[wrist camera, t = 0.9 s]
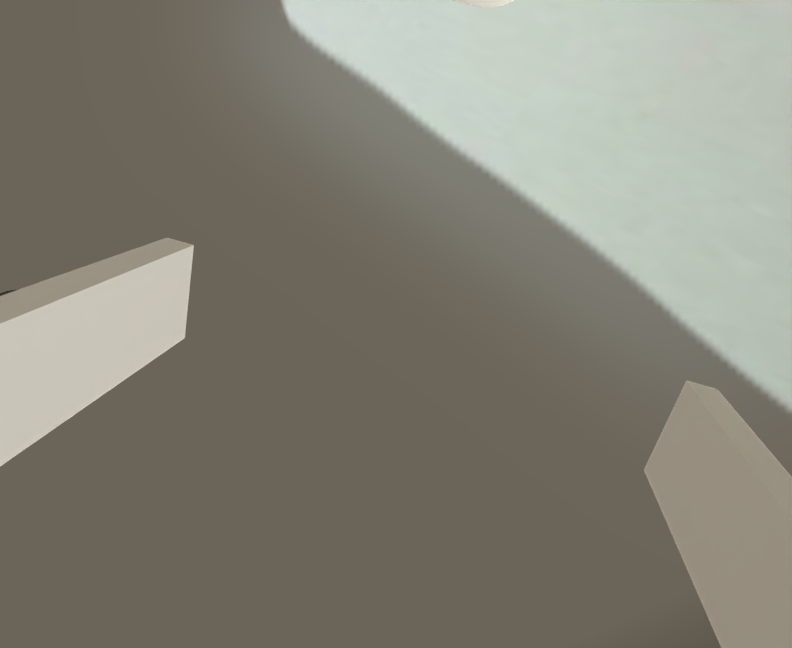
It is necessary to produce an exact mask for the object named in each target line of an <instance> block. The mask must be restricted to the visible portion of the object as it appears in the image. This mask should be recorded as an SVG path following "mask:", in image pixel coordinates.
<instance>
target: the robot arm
mask: <svg viewBox="0 0 792 648" xmlns="http://www.w3.org/2000/svg"><path fill="white" fill-rule="evenodd" d="M193 247H194V245H191V244H188V243H184V242H180V241H177V240H173V239H170V238H165V239H162V240H159V241H156V242H153V243H150V244H148V245H145V246H142V247H139V248H136V249H133V250H130V251H127V252H125V253H122V254H119V255H116V256H113V257H110V258H107V259H105V260H102V261H99V262H96V263H93V264H90V265H87V266H85V267H82V268H79V269H76V270H73V271H70V272H67V273H65V274H62V275H59V276H56V277H53V278H50V279H47V280H45V281H42V282H39V283H36V284H33V285H31V286H28V287H25V288H22V289H19V290H11V291H6V292H3V293H1V294H0V466H1V465H3V464H4V463H6V462H7V461H8V460H10V459H11V458H13V457H14V456H16V455H17V454H18V453H20V452H21V451H23V450H24V449H26V448H27V447H29V446H30V445H31V444H33V443H34V442H36V441H37V440H39V439H40V438H42V437H43V436H44V435H46V434H47V433H49V432H50V431H51V430H53V429H54V428H56V427H57V426H59V425H60V424H62V423H63V422H64V421H66V420H67V419H69V418H70V417H72V416H73V415H75V414H76V413H77V412H79V411H80V410H82V409H83V408H85V407H86V406H87V405H89V404H90V403H92V402H93V401H94V400H96V399H97V398H99V397H100V396H102V395H103V394H105V393H106V392H107V391H109V390H111V389H112V388H113V387H115V386H116V385H118V384H119V383H121V382H122V381H123V380H125V379H126V378H128V377H129V376H131V375H132V374H134V373H135V372H136V371H138V370H139V369H141V368H142V367H143V366H145V365H146V364H148V363H149V362H151V361H152V360H154V359H155V358H156V357H158V356H159V355H161V354H162V353H164V352H165V351H167V350H168V349H169V348H171V347H172V346H174V345H175V344H177V343H178V342H179V341H181V340H182V339H184V338H185V329H186V318H187V308H188V298H189V288H190V277H191V268H192V257H193ZM644 471H645V474H646V476H647V478H648V480H649V483H650V485H651V487H652V490H653V492H654V494H655V497H656V499H657V501H658V504H659V505H660V508H661V511H662V513H663V515H664V517H665V520H666V522H667V524H668V526H669V529H670V531H671V533H672V536H673V538H674V540H675V543H676V545H677V547H678V550H679V552H680V554H681V556H682V559H683V561H684V563H685V566H686V568H687V570H688V572H689V575H690V577H691V579H692V582H693V584H694V586H695V589H696V591H697V593H698V595H699V598H700V600H701V602H702V604H703V607H704V609H705V611H706V613H707V616H708V618H709V620H710V623H711V625H712V627H713V630H714V632H715V634H716V636H717V639H718V641H719V643H720V646H721V648H792V477H791V476H790V475H789V473H788V472H787V471H786V470H785V469H784V467H783V466H782V465H781V464H780V463H779V461H778V460H777V459H776V458H775V457H774V456H773V454H772V453H771V452H770V451H769V450H768V449H767V447H766V446H765V445H764V444H763V443H762V441H761V440H760V439H759V438H758V437H757V436H756V434H755V433H754V432H753V431H752V429H751V428H750V427H749V426H748V425H747V424H746V422H745V421H744V420H743V419H742V418H741V417H740V415H739V414H738V413H737V412H736V411H735V409H734V408H733V407H732V406H731V405H730V403H729V402H728V401H727V400H726V399H725V398H724V396H723V395H722V394H721V393H720V392H719V391H718V389H716V388H712V387H708V386H705V385H701V384H698V383H694V382H690V381H686V383H685V385H684V387H683V389H682V391H681V393H680V395H679V397H678V399H677V402H676V403H675V406H674V408H673V410H672V412H671V414H670V416H669V418H668V420H667V423H666V425H665V427H664V429H663V431H662V433H661V435H660V437H659V439H658V442H657V443H656V446H655V448H654V450H653V452H652V454H651V456H650V458H649V460H648V463H647V465H646V467H645V469H644Z"/></svg>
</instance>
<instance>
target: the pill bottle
mask: <svg viewBox="0 0 792 648" xmlns="http://www.w3.org/2000/svg"><path fill="white" fill-rule="evenodd" d="M454 1H458V2H462V3H465V4H469V5H473V6H477V7H485V8H489V7H497V6H502V5H505V4H508V3H511V2H513V1H515V0H454Z"/></svg>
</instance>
